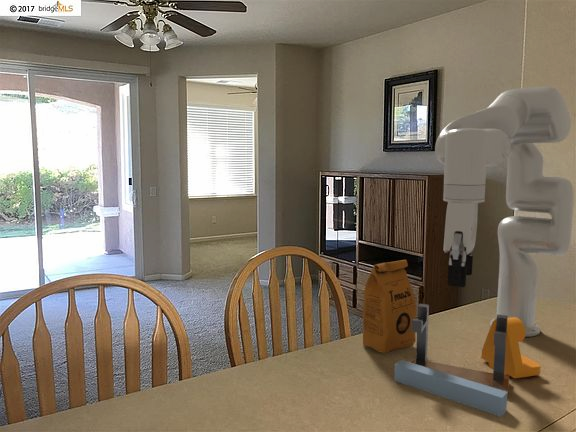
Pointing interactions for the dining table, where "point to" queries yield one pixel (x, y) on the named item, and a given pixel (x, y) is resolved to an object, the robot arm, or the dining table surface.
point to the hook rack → (481, 377)
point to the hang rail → (452, 387)
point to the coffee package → (388, 308)
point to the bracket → (511, 350)
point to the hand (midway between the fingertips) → (460, 279)
